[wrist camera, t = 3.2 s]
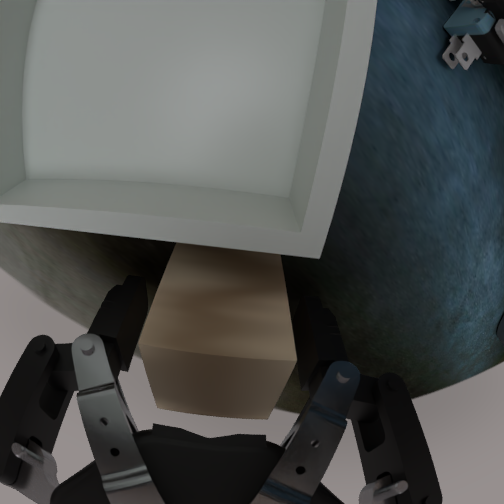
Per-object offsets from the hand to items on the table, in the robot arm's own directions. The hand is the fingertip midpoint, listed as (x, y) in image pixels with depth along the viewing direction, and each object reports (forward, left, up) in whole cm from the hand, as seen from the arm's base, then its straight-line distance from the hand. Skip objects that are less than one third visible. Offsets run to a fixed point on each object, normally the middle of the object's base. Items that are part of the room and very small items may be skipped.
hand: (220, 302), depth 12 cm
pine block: (0, 0, -2) cm, 2 cm away
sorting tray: (+4, -11, -1) cm, 12 cm away
